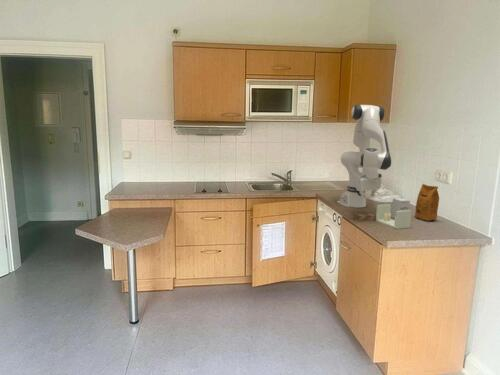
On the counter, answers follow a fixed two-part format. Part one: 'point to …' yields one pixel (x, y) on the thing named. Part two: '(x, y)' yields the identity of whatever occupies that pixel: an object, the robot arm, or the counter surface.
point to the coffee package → (427, 203)
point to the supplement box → (399, 206)
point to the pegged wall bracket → (400, 220)
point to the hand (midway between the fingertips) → (367, 197)
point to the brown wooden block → (365, 216)
